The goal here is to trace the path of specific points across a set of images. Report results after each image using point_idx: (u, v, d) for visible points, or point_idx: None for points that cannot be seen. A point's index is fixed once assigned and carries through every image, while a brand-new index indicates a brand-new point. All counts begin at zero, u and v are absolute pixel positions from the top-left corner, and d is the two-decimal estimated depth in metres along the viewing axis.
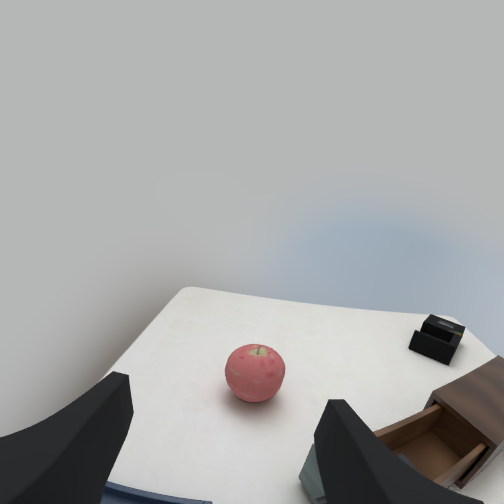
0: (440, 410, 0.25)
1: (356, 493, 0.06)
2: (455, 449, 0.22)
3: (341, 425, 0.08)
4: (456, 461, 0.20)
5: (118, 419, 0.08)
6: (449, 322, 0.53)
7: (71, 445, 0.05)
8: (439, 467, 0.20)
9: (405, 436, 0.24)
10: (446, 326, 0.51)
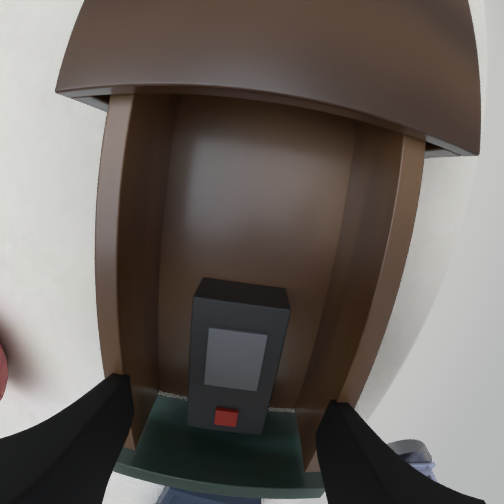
0: None
1: (358, 493, 0.06)
2: None
3: (342, 425, 0.08)
4: (326, 121, 0.11)
5: (119, 419, 0.08)
6: None
7: (73, 446, 0.05)
8: (301, 180, 0.12)
9: (147, 229, 0.10)
10: None
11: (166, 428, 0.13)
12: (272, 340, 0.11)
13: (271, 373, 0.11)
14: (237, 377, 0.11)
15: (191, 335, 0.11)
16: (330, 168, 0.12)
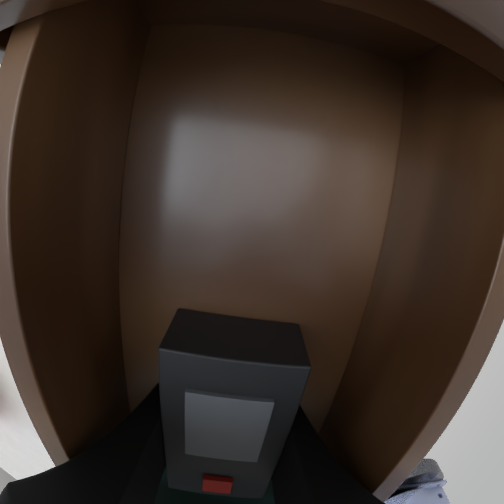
0: None
1: (293, 498, 0.06)
2: (320, 33, 0.06)
3: None
4: (362, 79, 0.07)
5: None
6: None
7: (136, 467, 0.05)
8: (328, 163, 0.07)
9: (85, 243, 0.06)
10: None
11: None
12: (280, 407, 0.07)
13: (278, 443, 0.07)
14: (230, 448, 0.07)
15: (161, 398, 0.07)
16: (370, 147, 0.07)
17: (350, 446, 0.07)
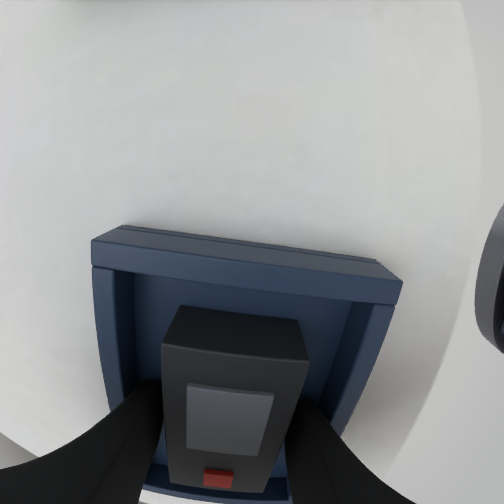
0: None
1: (316, 497, 0.06)
2: None
3: (305, 426, 0.08)
4: None
5: (152, 428, 0.08)
6: None
7: (116, 461, 0.05)
8: None
9: None
10: None
11: None
12: (280, 401, 0.07)
13: (277, 437, 0.07)
14: (231, 442, 0.07)
15: (163, 393, 0.07)
16: None
17: None
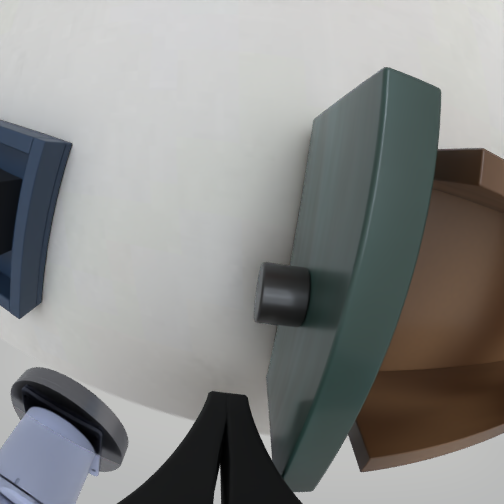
0: None
1: (225, 496, 0.05)
2: None
3: (226, 421, 0.08)
4: None
5: (223, 440, 0.08)
6: None
7: (214, 482, 0.05)
8: None
9: None
10: None
11: None
12: None
13: None
14: None
15: None
16: None
17: (444, 403, 0.08)
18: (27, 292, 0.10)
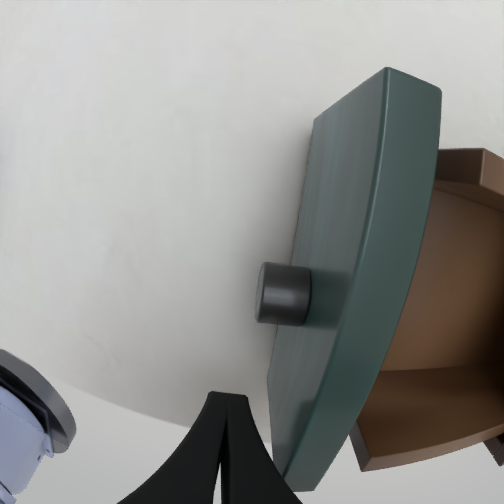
0: None
1: (225, 496, 0.05)
2: None
3: (226, 421, 0.08)
4: None
5: (223, 440, 0.08)
6: None
7: (214, 482, 0.05)
8: None
9: None
10: None
11: None
12: None
13: None
14: None
15: None
16: None
17: (444, 402, 0.08)
18: None
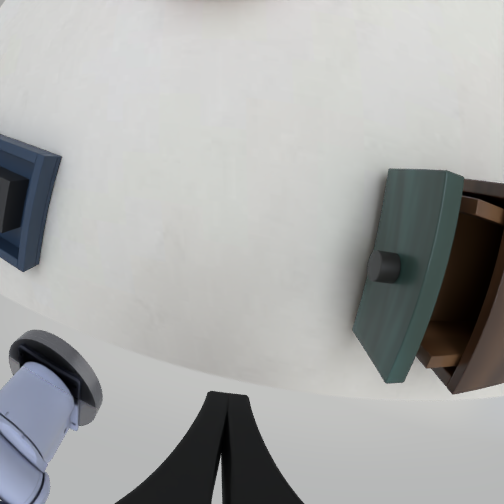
0: None
1: (227, 496, 0.05)
2: None
3: (227, 421, 0.08)
4: None
5: (222, 440, 0.08)
6: None
7: (213, 481, 0.05)
8: None
9: None
10: None
11: None
12: None
13: None
14: None
15: None
16: None
17: (461, 336, 0.15)
18: (30, 253, 0.16)
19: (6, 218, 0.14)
